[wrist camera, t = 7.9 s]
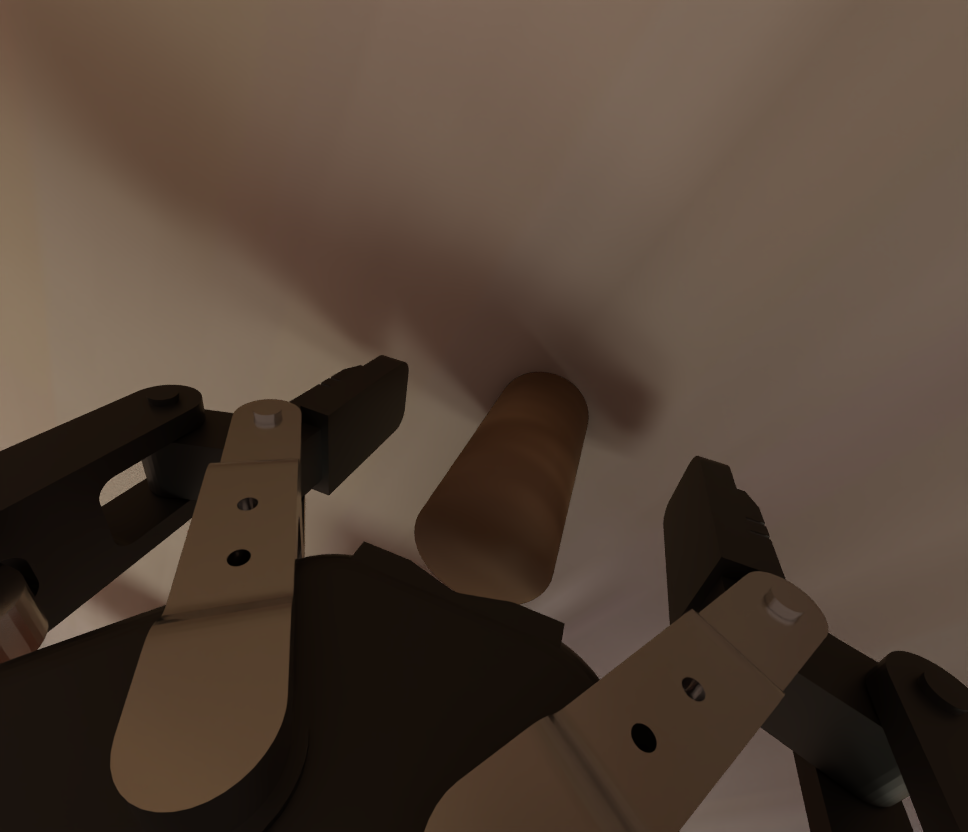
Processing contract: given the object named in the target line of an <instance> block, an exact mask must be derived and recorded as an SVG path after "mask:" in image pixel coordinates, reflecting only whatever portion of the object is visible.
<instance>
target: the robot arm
mask: <svg viewBox="0 0 968 832" xmlns="http://www.w3.org/2000/svg"><path fill="white" fill-rule="evenodd" d="M408 371H409V369H408V364H407V363H406V362H403V361H400V360H397V359H394V358H391V357H387V356H384V355H380V356H378V357H377V358H375V359H374V360H372V361H370V362H369V363H367V364H366V365H364V366H361V365H359V366H355V367H351V368H348V369H344V370H342V371H340V372H338V373H337V374H335V375H333V376H332V377H331V379H330V378H328V379H327V380H325V381H323V382H322V383H321V385H320V384H318V385H317V386H315V387H313V388H312V389H310V390H308V391H307V392H305V393H303V394H302V395H300V396H298V397H297V398H295V399H293V400H292V401H290V402H287V401H283V400H277V399H264V400H257V401H253V402H249V403H247V404H244V405H242V406H241V407H239V408H238V409H236V411H235V412H234V413H227V412H220V411H212V410H205V409H204V406H203V400H202V395H201V393H200V392H199V391H198V390H196V389H194V388H191V387H188V386H182V385H161V386H154V387H150V388H146V389H143V390H140V391H137V392H135V393H133V394H130V395H128V396H126V397H124V398H121V399H119V400H117V401H114V402H112V403H110V404H108V405H105V406H103V407H101V408H98V409H96V410H94V411H91V412H89V413H87V414H85V415H82V416H80V417H78V418H75V419H73V420H71V421H69V422H66V423H64V424H62V425H59V426H57V427H55V428H52V429H50V430H48V431H46V432H43V433H41V434H39V435H36V436H34V437H32V438H30V439H27V440H25V441H23V442H20V443H18V444H16V445H13V446H11V447H9V448H7V449H4V450H2V451H0V832H679V830H680V829H681V828H682V827H683V825H684V824H685V823H686V822H687V820H688V819H689V818H690V816H691V815H692V814H693V813H694V811H695V810H696V809H697V807H698V806H699V805H700V804H701V802H702V801H703V800H704V798H705V797H706V796H707V795H708V793H709V792H710V791H711V790H712V788H713V787H714V786H715V784H716V783H717V782H718V781H719V779H720V778H721V777H722V775H723V774H724V773H725V772H726V770H727V769H728V768H729V767H730V765H731V764H732V763H733V761H734V760H735V759H736V758H737V756H738V755H739V754H740V752H741V751H742V750H743V749H744V747H745V746H746V745H747V743H748V742H749V741H750V740H751V738H752V737H753V736H754V735H755V733H756V732H757V731H758V729H759V728H760V727H761V728H762V729H764V730H765V731H766V732H768V733H769V734H771V735H772V736H773V737H775V738H776V739H778V740H779V741H780V742H782V743H783V744H784V745H786V746H787V747H789V748H790V749H791V750H793V754H794V758H795V763H796V767H797V772H798V777H799V781H800V786H801V790H802V795H803V799H804V804H805V809H806V813H807V818H808V822H809V827H810V832H913V829H912V826H911V824H910V821H909V818H908V816H907V813H906V811H905V808H904V805H903V803H902V800H903V799H905V798H907V797H908V796H910V798H911V801H912V803H913V806H914V808H915V811H916V813H917V816H918V818H919V821H920V823H921V826H922V829H923V831H924V832H968V688H967V687H966V686H965V685H964V684H962V683H961V682H960V681H959V680H958V679H956V678H955V677H954V676H952V675H951V674H950V673H948V672H947V671H945V670H944V669H942V668H941V667H939V666H938V665H936V664H934V663H932V662H931V661H929V660H927V659H925V658H923V657H920V656H918V655H915V654H912V653H909V652H905V651H894V652H891V653H890V654H888V655H887V656H886V657H885V658H883V659H882V660H881V661H880V662H879V663H878V662H876V661H874V660H873V659H871V658H869V657H868V656H866V655H864V654H863V653H861V652H859V651H858V650H856V649H854V648H852V647H851V646H849V645H847V644H846V643H844V642H842V641H841V640H839V639H837V638H836V637H834V636H833V635H831V634H829V633H828V623H827V621H826V618H825V616H824V614H823V613H822V611H821V610H820V608H819V607H818V606H817V604H816V603H815V602H814V601H813V600H812V599H811V598H810V597H809V596H808V595H807V594H806V593H804V592H803V591H802V590H801V589H799V588H798V587H797V586H795V585H794V584H792V583H790V582H789V581H787V580H786V579H785V576H784V574H783V571H782V568H781V566H780V563H779V560H778V558H777V555H776V552H775V549H774V547H773V544H772V541H771V540H770V539H769V537H770V536H769V533H768V531H767V528H766V526H764V524H765V522H764V520H763V517H762V514H761V512H760V509H759V507H758V506H757V505H756V504H755V502H754V501H753V500H752V499H751V498H750V497H749V495H748V494H747V493H746V492H745V491H742V490H739V489H737V488H736V485H735V482H734V479H733V476H732V473H731V470H730V467H729V466H728V465H725V464H722V463H719V462H716V461H713V460H709V459H706V458H703V457H700V456H695V457H694V458H693V459H692V461H691V462H690V464H689V466H688V467H687V469H686V471H685V473H684V475H683V477H682V479H681V480H680V482H679V484H678V486H677V488H676V490H675V492H674V493H673V495H672V497H671V499H670V501H669V503H668V505H667V508H666V511H665V515H664V522H663V527H664V542H665V557H666V573H667V588H668V603H669V619H670V626H669V627H667V628H666V629H665V630H663V631H662V632H661V633H660V634H658V635H657V636H656V637H654V638H653V639H652V640H651V641H649V642H648V643H647V644H645V645H644V646H643V647H642V648H640V649H639V650H638V651H636V652H635V653H634V654H633V655H631V656H630V657H629V658H627V659H626V660H625V661H623V662H622V663H621V664H620V665H618V666H617V667H616V668H614V669H613V670H612V671H611V672H609V673H608V674H607V675H605V676H604V677H603V678H602V679H599V678H598V677H597V675H596V674H595V673H594V672H593V670H592V669H591V668H590V667H589V666H588V665H587V664H586V663H585V662H584V661H583V659H582V658H581V657H579V656H578V655H577V654H576V653H575V652H574V651H573V650H571V649H570V648H569V647H568V646H566V645H565V644H564V643H562V642H561V641H562V635H563V629H564V623H562V622H560V621H557V620H555V619H552V618H550V617H547V616H545V615H542V614H540V613H538V612H535V611H533V610H530V609H528V608H525V607H523V606H521V605H518V604H516V603H513V602H509V601H503V600H497V599H492V598H486V597H480V596H474V595H468V594H462V593H457V592H455V591H452V590H451V589H449V588H448V587H446V586H445V585H444V584H442V583H441V582H439V581H438V580H437V579H435V578H434V577H433V576H431V575H430V574H428V573H427V572H426V571H424V570H423V569H421V568H420V567H419V566H417V565H416V564H415V563H413V562H412V561H410V560H408V559H406V558H403V557H401V556H399V555H396V554H394V553H391V552H389V551H386V550H384V549H381V548H379V547H377V546H374V545H372V544H369V543H367V542H363V543H362V545H361V546H360V547H359V548H358V550H357V551H356V552H355V553H354V555H343V554H325V555H316V556H309V557H305V494H307V493H308V492H309V491H310V490H311V489H314V490H316V491H319V492H321V493H324V494H326V495H330V494H331V493H332V492H333V491H334V490H335V489H336V488H337V487H338V486H339V485H340V484H341V483H342V482H343V481H344V480H345V479H346V478H347V477H348V476H349V475H350V474H351V473H352V472H353V471H354V470H355V469H357V468H358V467H359V466H360V465H361V464H362V463H363V462H364V461H365V460H366V459H367V458H368V457H369V456H370V455H371V454H372V453H373V452H374V451H375V450H376V449H377V448H378V447H379V446H380V445H381V444H382V443H383V442H384V441H385V440H386V439H387V438H388V437H389V436H390V435H391V434H392V433H394V432H395V431H396V429H397V428H398V427H399V425H400V423H401V421H402V419H403V415H404V411H405V402H406V392H407V382H408ZM141 460H142V464H143V467H144V471H145V474H146V479H145V480H143V481H141V482H140V483H138V484H137V485H135V486H133V487H132V488H130V489H129V490H127V491H126V492H124V493H122V494H121V495H119V496H118V497H116V498H114V499H113V500H111V501H110V502H108V503H107V504H105V505H103V506H102V507H101V505H100V501H99V496H100V492H101V490H102V488H103V487H104V485H105V484H106V483H107V482H108V481H109V480H110V479H111V478H113V477H114V476H116V475H117V474H119V473H121V472H123V471H124V470H126V469H128V468H129V467H131V466H133V465H135V464H136V463H138V462H140V461H141ZM191 518H192V520H191V523H190V526H189V530H188V533H187V536H186V540H185V543H184V546H183V550H182V553H181V556H180V560H179V563H178V567H177V570H176V573H175V577H174V580H173V583H172V587H171V590H170V593H169V597H168V600H167V604H166V605H164V606H162V607H159V608H156V609H153V610H150V611H147V612H144V613H142V614H139V615H136V616H133V617H130V618H127V619H124V620H122V621H119V622H116V623H113V624H110V625H107V626H105V627H102V628H99V629H96V630H93V631H90V632H87V633H85V634H82V635H79V636H76V637H73V638H70V639H67V640H65V641H62V642H59V643H56V644H53V645H50V646H47V647H45V648H42V649H39V650H37V649H38V648H39V647H40V645H41V644H42V642H43V641H44V639H45V637H46V634H47V632H49V631H50V630H51V629H52V628H54V627H55V626H56V625H58V624H59V623H60V622H61V621H63V620H64V619H65V618H66V617H68V616H69V615H70V614H71V613H73V612H74V611H75V610H76V609H78V608H79V607H80V606H81V605H83V604H84V603H85V602H86V601H88V600H89V599H90V598H92V597H93V596H94V595H95V594H97V593H98V592H99V591H100V590H102V589H103V588H104V587H105V586H107V585H108V584H109V583H110V582H112V581H113V580H114V579H115V578H117V577H118V576H119V575H121V574H122V573H123V572H124V571H126V570H127V569H128V568H129V567H131V566H132V565H133V564H134V563H136V562H137V561H138V560H139V559H141V558H142V557H143V556H144V555H146V554H147V553H148V552H150V551H151V550H152V549H153V548H155V547H156V546H157V545H158V544H160V543H161V542H162V541H163V540H165V539H166V538H167V537H168V536H170V535H171V534H172V533H173V532H175V531H176V530H177V529H179V528H180V527H181V526H182V525H184V524H185V523H186V522H187V521H189V520H190V519H191Z"/></svg>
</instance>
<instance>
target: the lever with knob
mask: <svg viewBox="0 0 968 832" xmlns="http://www.w3.org/2000/svg"><path fill="white" fill-rule="evenodd" d="M588 419H589V415H588V408H587V404H586V401H585V399H584V397H583V396H582V394H581V393H580V391H579V390H578V389H577V388H576V387H575V386H574V385H573V384H572V383H571V382H569V381H568V380H566V379H564V378H562V377H560V376H558V375H555V374H552V373H547V372H533V373H528V374H524V375H522V376H519V377H518V378H516V379H514V380H513V381H512V382H511V383H509V385H508V386H507V387H506V388H505V390H504V391H503V392H502V394H501V395H500V397H499V398H498V400H497V401H496V403H495V404H494V406H493V407H492V408H491V410H490V411H489V413H488V414H487V416H486V417H485V419H484V420H483V421H482V423H481V424H480V426H479V427H478V429H477V430H476V432H475V433H474V435H473V436H472V437H471V439H470V440H469V442H468V443H467V445H466V446H465V448H464V449H463V450H462V452H461V453H460V455H459V456H458V458H457V459H456V461H455V462H454V464H453V465H452V466H451V468H450V469H449V471H448V472H447V474H446V475H445V477H444V478H443V479H442V481H441V482H440V484H439V485H438V487H437V488H436V490H435V491H434V493H433V494H432V495H431V497H430V498H429V500H428V501H427V503H426V504H425V506H424V507H423V509H422V510H421V511H420V513H419V515H418V517H417V519H416V523H415V531H414V534H415V542H416V545H417V549H418V551H419V553H420V556H421V557H422V559H423V561H424V562H425V564H426V565H427V567H428V568H429V569H430V570H431V572H432V573H433V574H434V575H435V576H436V577H437V578H438V579H439V580H440V581H442V582H443V583H444V584H445V585H447V586H448V587H450V588H451V589H452V590H454V591H456V592H458V593H462V594H468V595H474V596H480V597H486V598H492V599H497V600H503V601H509V602H513V603H516V604H518V605H519V604H523V603H526V602H529V601H531V600H533V599H535V598H537V597H538V596H540V595H541V594H542V593H543V592H544V591H545V590H546V588H547V587H548V586H549V584H550V582H551V580H552V576H553V573H554V568H555V564H556V560H557V555H558V551H559V547H560V542H561V538H562V534H563V529H564V525H565V521H566V516H567V512H568V508H569V503H570V499H571V495H572V490H573V486H574V482H575V477H576V473H577V469H578V464H579V460H580V456H581V451H582V447H583V443H584V438H585V434H586V430H587V425H588Z"/></svg>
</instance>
